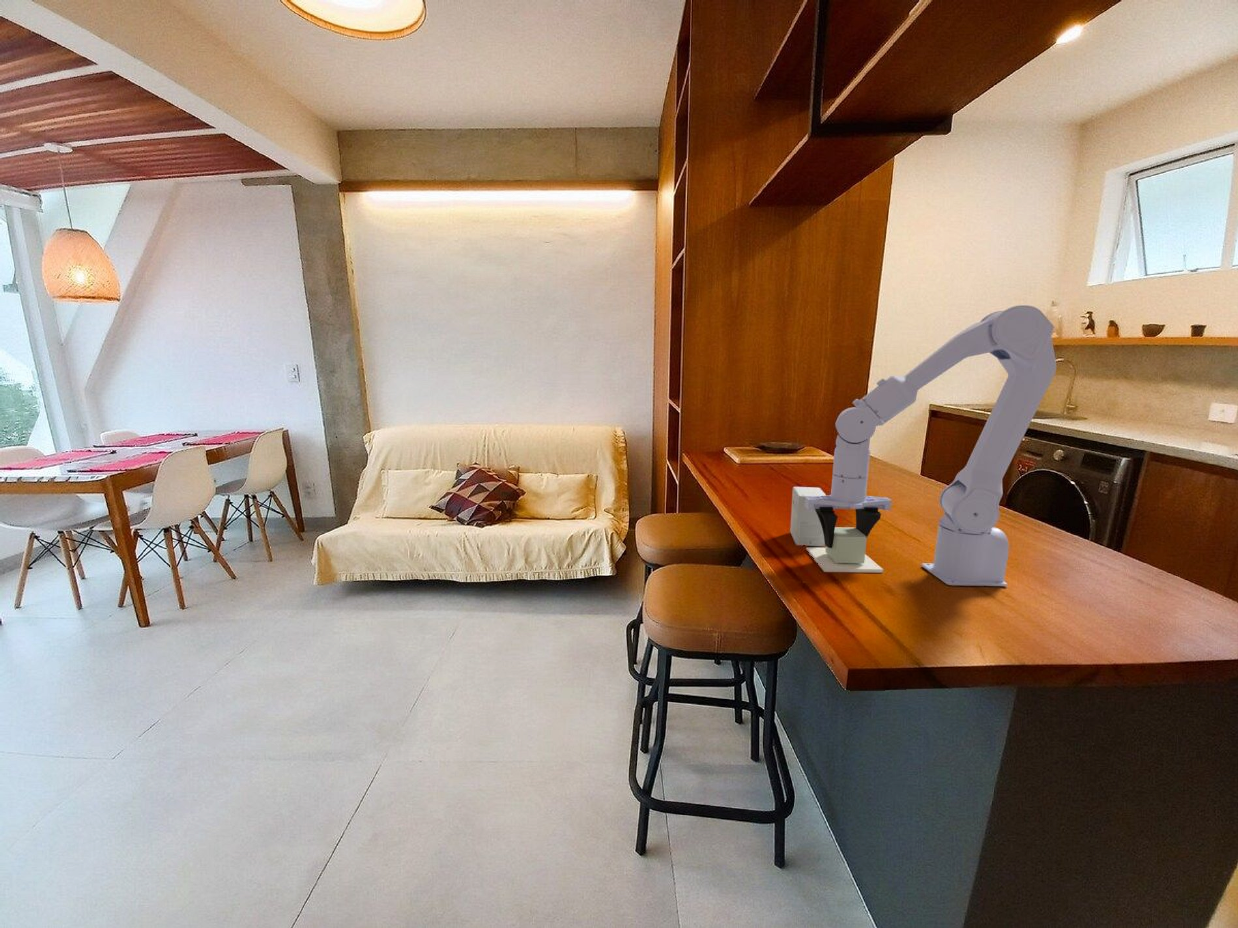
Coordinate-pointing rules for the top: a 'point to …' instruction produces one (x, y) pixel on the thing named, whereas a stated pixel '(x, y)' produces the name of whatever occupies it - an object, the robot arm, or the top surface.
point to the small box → (805, 518)
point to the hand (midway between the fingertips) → (843, 546)
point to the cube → (847, 545)
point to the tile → (831, 566)
